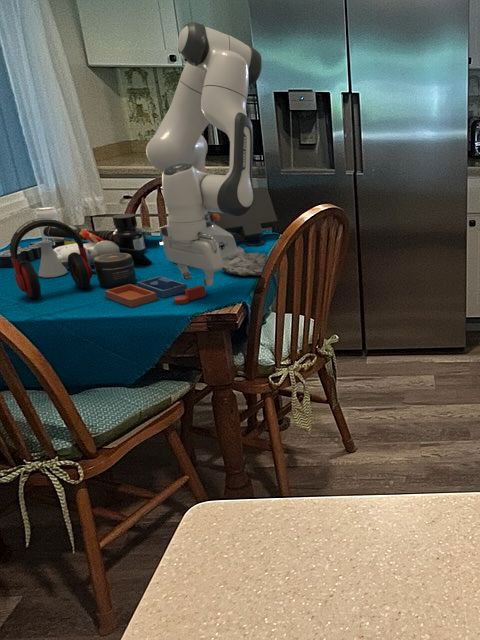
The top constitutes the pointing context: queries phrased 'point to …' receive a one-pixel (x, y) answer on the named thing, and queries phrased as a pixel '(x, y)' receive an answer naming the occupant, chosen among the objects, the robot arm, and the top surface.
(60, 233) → the flashlight
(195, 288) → the red paddle shape
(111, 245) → the round bodied animal figurine
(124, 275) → the jar
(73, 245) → the binoculars
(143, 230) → the topographic map
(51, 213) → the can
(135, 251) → the smartphone
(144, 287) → the blue tray
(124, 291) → the terracotta tray
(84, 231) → the toy figure
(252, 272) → the rock
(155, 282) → the navy paddle shape
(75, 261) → the headphones
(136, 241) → the ink bottle
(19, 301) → the top surface
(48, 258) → the flask
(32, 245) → the logo
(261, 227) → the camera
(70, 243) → the sponge
